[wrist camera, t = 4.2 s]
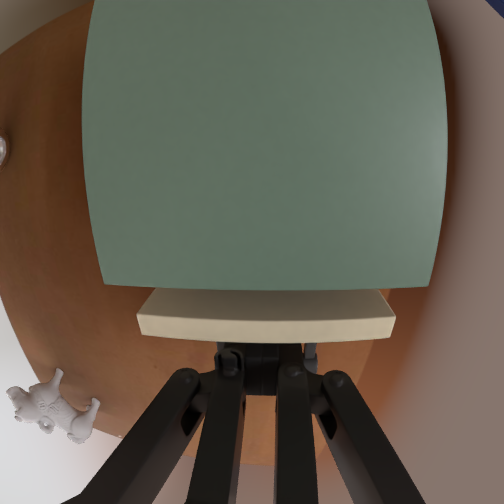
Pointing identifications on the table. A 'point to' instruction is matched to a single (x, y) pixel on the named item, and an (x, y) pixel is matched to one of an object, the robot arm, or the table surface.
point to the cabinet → (264, 143)
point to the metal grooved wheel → (4, 148)
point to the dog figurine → (53, 409)
